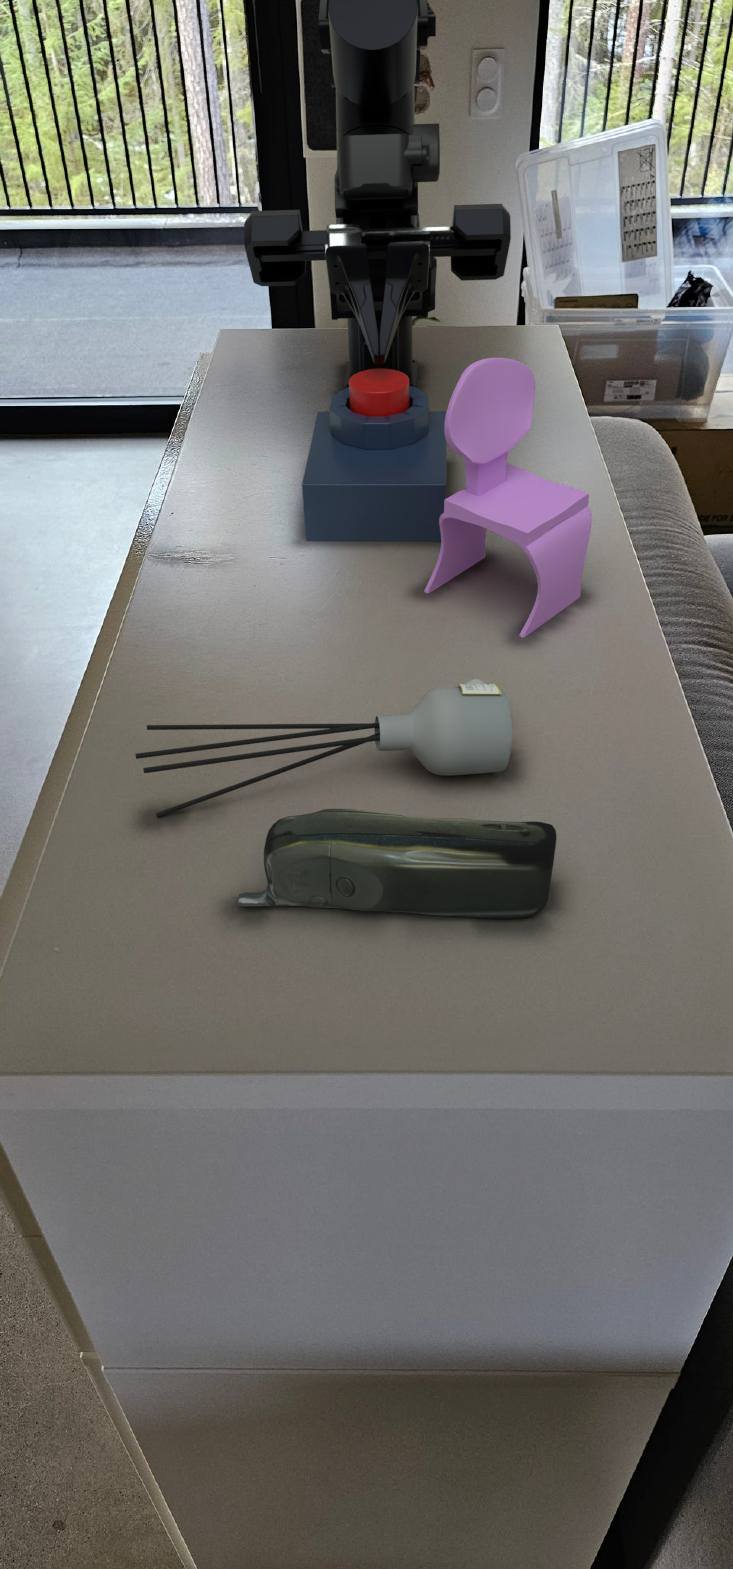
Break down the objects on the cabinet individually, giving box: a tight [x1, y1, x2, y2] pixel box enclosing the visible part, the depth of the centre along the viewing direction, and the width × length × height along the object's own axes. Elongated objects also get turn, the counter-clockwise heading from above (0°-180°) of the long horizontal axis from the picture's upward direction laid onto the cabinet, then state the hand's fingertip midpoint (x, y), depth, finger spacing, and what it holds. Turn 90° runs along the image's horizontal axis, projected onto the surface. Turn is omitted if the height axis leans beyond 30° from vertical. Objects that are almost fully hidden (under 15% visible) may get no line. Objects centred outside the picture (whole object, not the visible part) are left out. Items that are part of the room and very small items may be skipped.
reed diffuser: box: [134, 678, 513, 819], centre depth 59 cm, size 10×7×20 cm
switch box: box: [301, 386, 448, 543], centre depth 81 cm, size 13×10×6 cm
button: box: [349, 369, 409, 417], centre depth 81 cm, size 4×4×2 cm
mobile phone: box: [237, 808, 557, 920], centre depth 52 cm, size 5×3×15 cm
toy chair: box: [423, 357, 593, 639], centre depth 68 cm, size 8×9×15 cm
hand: (379, 361), depth 79 cm, fingers closed
